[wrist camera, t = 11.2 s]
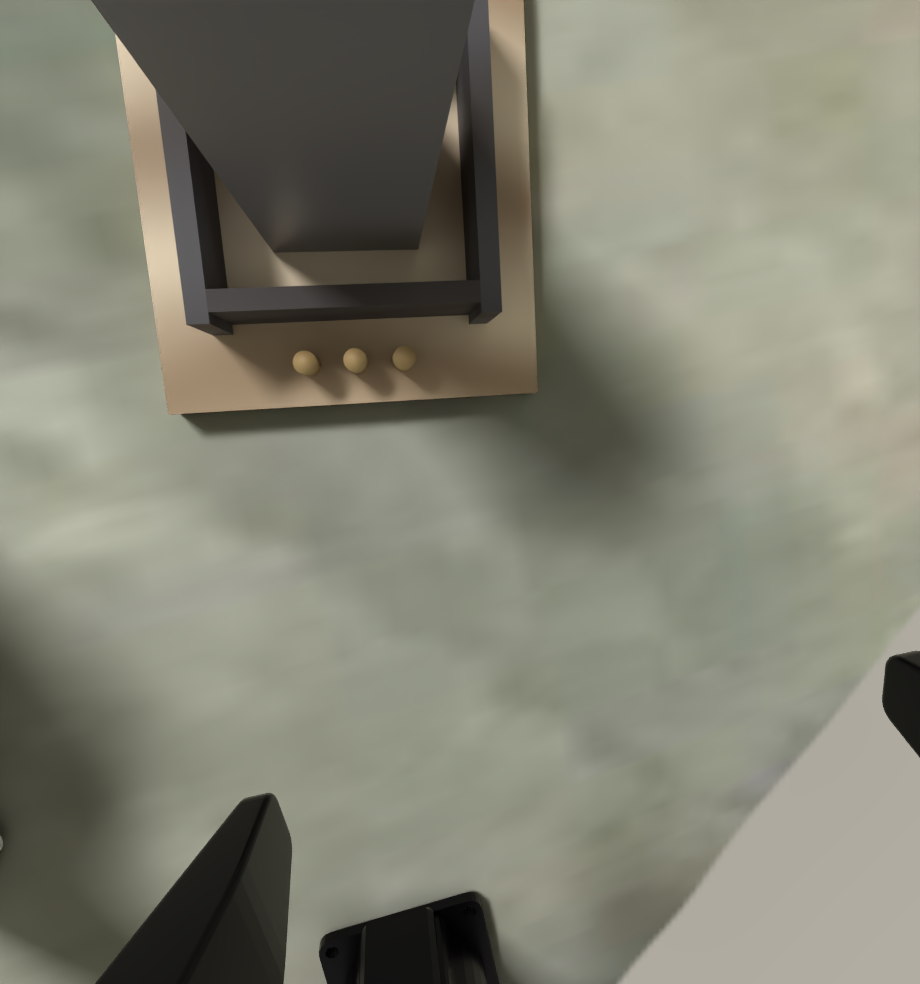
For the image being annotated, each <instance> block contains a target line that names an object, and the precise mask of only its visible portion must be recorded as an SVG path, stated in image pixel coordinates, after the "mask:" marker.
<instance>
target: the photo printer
mask: <svg viewBox="0 0 920 984" xmlns="http://www.w3.org/2000/svg"><path fill="white" fill-rule="evenodd" d="M2 847H3V840H2V837H1V836H0V850H1V849H2Z"/></svg>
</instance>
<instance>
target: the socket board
mask: <svg viewBox="0 0 920 984" xmlns="http://www.w3.org/2000/svg"><path fill="white" fill-rule="evenodd" d="M115 35H116V34H115ZM116 42H117V49H118V56H119V63H120V71H121V78H122V85H123V92H124V99H125V106H126V114H127V121H128V128H129V135H130V142H131V150H132V157H133V164H134V171H135V178H136V185H137V193H138V200H139V207H140V214H141V221H142V229H143V236H144V243H145V250H146V257H147V264H148V272H149V279H150V286H151V293H152V300H153V308H154V315H155V322H156V329H157V336H158V343H159V351H160V358H161V365H162V372H163V379H164V387H165V394H166V401H167V408H168V414H187V413H204V412H221V411H238V410H255V409H272V408H289V407H305V406H322V405H339V404H356V403H373V402H390V401H407V400H424V399H441V398H457V397H474V396H491V395H508V394H525V393H538V382H537V355H536V328H535V300H534V273H533V246H532V219H531V191H530V164H529V137H528V110H527V82H526V55H525V28H524V1H523V0H475V1H474V5H473V10H472V14H471V19H470V23H469V27H468V32H467V36H466V41H465V45H464V50H463V54H462V58H461V63H460V67H459V72H458V76H457V80H456V85H455V89H454V94H453V98H452V102H451V107H450V111H449V116H448V120H447V124H446V129H445V133H444V138H443V142H442V146H441V151H440V155H439V160H438V164H437V168H436V173H435V177H434V182H433V186H432V190H431V195H430V199H429V204H428V208H427V212H426V217H425V221H424V226H423V230H422V234H421V239H420V243H419V248H418V249H416V250H371V251H325V252H279V253H273V251H272V250H271V249H270V247H269V246H268V244H267V243H266V242H265V240H264V239H263V238H262V236H261V235H260V233H259V232H258V231H257V229H256V228H255V226H254V225H253V224H252V222H251V221H250V219H249V218H248V217H247V215H246V214H245V213H244V211H243V210H242V208H241V207H240V206H239V204H238V203H237V201H236V200H235V199H234V197H233V196H232V195H231V193H230V192H229V190H228V189H227V188H226V186H225V185H224V183H223V182H222V181H221V179H220V178H219V177H218V175H217V174H216V172H215V171H214V170H213V168H212V167H211V165H210V164H209V163H208V161H207V160H206V159H205V157H204V156H203V154H202V153H201V152H200V150H199V149H198V147H197V146H196V145H195V143H194V142H193V140H192V139H191V138H190V136H189V135H188V134H187V132H186V131H185V129H184V128H183V127H182V125H181V124H180V122H179V121H178V120H177V118H176V117H175V116H174V114H173V113H172V111H171V110H170V109H169V107H168V106H167V104H166V103H165V102H164V100H163V99H162V98H161V96H160V95H159V93H158V92H157V91H156V89H155V88H154V86H153V85H152V84H151V82H150V81H149V80H148V78H147V77H146V75H145V74H144V73H143V71H142V70H141V68H140V67H139V66H138V64H137V63H136V61H135V60H134V59H133V57H132V56H131V55H130V53H129V52H128V50H127V49H126V48H125V46H124V45H123V43H122V42H121V41H120V39H119V38H118V37H117V35H116Z"/></svg>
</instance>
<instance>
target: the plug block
mask: <svg viewBox="0 0 920 984" xmlns="http://www.w3.org/2000/svg"><path fill="white" fill-rule="evenodd" d="M91 1H92V2H93V3H94V5H95V6H96V7H97V9H98V10H99V12H100V13H101V14H102V16H103V17H104V19H105V20H106V21H107V23H108V24H109V25H110V27H111V28H112V30H113V31H114V32H115V34H116V35H117V37H118V38H119V39H120V41H121V42H122V43H123V45H124V46H125V48H126V49H127V50H128V52H129V53H130V55H131V56H132V57H133V59H134V60H135V61H136V63H137V64H138V66H139V67H140V68H141V70H142V71H143V73H144V74H145V75H146V77H147V78H148V80H149V81H150V82H151V84H152V85H153V86H154V88H155V89H156V91H157V92H158V93H159V95H160V96H161V98H162V99H163V100H164V102H165V103H166V104H167V106H168V107H169V109H170V110H171V111H172V113H173V114H174V116H175V117H176V118H177V120H178V121H179V122H180V124H181V125H182V127H183V128H184V129H185V131H186V132H187V134H188V135H189V136H190V138H191V139H192V140H193V142H194V143H195V145H196V146H197V147H198V149H199V150H200V152H201V153H202V154H203V156H204V157H205V159H206V160H207V161H208V163H209V164H210V165H211V167H212V168H213V170H214V171H215V172H216V174H217V175H218V177H219V178H220V179H221V181H222V182H223V183H224V185H225V186H226V188H227V189H228V190H229V192H230V193H231V195H232V196H233V197H234V199H235V200H236V201H237V203H238V204H239V206H240V207H241V208H242V210H243V211H244V213H245V214H246V215H247V217H248V218H249V219H250V221H251V222H252V224H253V225H254V226H255V228H256V229H257V231H258V232H259V233H260V235H261V236H262V238H263V239H264V240H265V242H266V243H267V244H268V246H269V247H270V249H271V250H272V251H273V253H279V252H325V251H371V250H416V249H418V248H419V243H420V239H421V234H422V230H423V226H424V221H425V217H426V212H427V208H428V204H429V199H430V195H431V190H432V186H433V182H434V177H435V173H436V168H437V164H438V160H439V155H440V151H441V146H442V142H443V138H444V133H445V129H446V124H447V120H448V116H449V111H450V107H451V102H452V98H453V94H454V89H455V85H456V80H457V76H458V72H459V67H460V63H461V58H462V54H463V50H464V45H465V41H466V36H467V32H468V27H469V23H470V19H471V14H472V10H473V5H474V1H475V0H91Z"/></svg>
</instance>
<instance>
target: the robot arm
mask: <svg viewBox="0 0 920 984" xmlns="http://www.w3.org/2000/svg"><path fill="white" fill-rule="evenodd" d="M882 703H883V707H884V710H885V713H886V715H887V716H888V718H889V719H890V721H891V722H892V723H893V725H894V726H895V727H896V728H897V730H898V731H899V732H900V733H901V735H902V736H903V737H904V738H905V740H906V741H907V742H908V743H909V745H910V746H911V747H912V748H913V750H914V751H915V752H916V753H917V754H918V756H919V757H920V651H912V652H908V653H903V654H899V655H894V656H892V657H890V658H889V659H888V660H887V662H886V666H885V677H884V686H883V695H882ZM291 861H292V843H291V837H290V833H289V830H288V827H287V825H286V822H285V819H284V817H283V814H282V811H281V808H280V806H279V803H278V800H277V798H276V797H275V795H274V794H272V793H265V794H261V795H256V796H252V797H247V798H245V799H243V800H242V801H241V802H240V803H239V804H238V805H237V806H236V807H235V809H234V810H233V811H232V813H231V814H230V815H229V816H228V818H227V819H226V820H225V821H224V823H223V824H222V825H221V826H220V828H219V829H218V830H217V831H216V833H215V834H214V835H213V836H212V838H211V839H210V840H209V841H208V843H207V844H206V845H205V846H204V848H203V849H202V850H201V851H200V853H199V854H198V855H197V856H196V858H195V859H194V860H193V861H192V863H191V864H190V865H189V866H188V868H187V869H186V870H185V871H184V873H183V874H182V875H181V877H180V878H179V879H178V880H177V882H176V883H175V884H174V885H173V887H172V888H171V889H170V890H169V892H168V893H167V894H166V895H165V897H164V898H163V899H162V900H161V902H160V903H159V904H158V905H157V907H156V908H155V909H154V910H153V912H152V913H151V914H150V915H149V917H148V918H147V919H146V920H145V922H144V923H143V924H142V925H141V927H140V928H139V929H138V930H137V932H136V933H135V934H134V935H133V937H132V938H131V939H130V941H129V942H128V943H127V944H126V946H125V947H124V948H123V949H122V951H121V952H120V953H119V954H118V956H117V957H116V958H115V959H114V961H113V962H112V963H111V964H110V966H109V967H108V968H107V969H106V971H105V972H104V973H103V974H102V976H101V977H100V978H99V979H98V981H97V982H96V983H95V984H283V981H284V970H285V958H286V942H287V925H288V909H289V893H290V877H291ZM468 906H472V908H470V909H465V908H467V907H468ZM330 947H335V949H330ZM319 957H320V961H321V964H322V968H323V971H324V974H325V978H326V981H327V984H499V981H498V976H497V972H496V968H495V963H494V959H493V954H492V950H491V945H490V941H489V937H488V932H487V928H486V923H485V919H484V914H483V910H482V906H481V901H480V898H479V896H478V895H476V894H475V893H471V892H469V893H464V894H460V895H457V896H453V897H450V898H447V899H443V900H440V901H436V902H433V903H430V904H426V905H423V906H419V907H416V908H412V909H409V910H406V911H402V912H399V913H395V914H392V915H389V916H385V917H382V918H378V919H375V920H371V921H368V922H365V923H361V924H358V925H354V926H351V927H348V928H344V929H341V930H337V931H334V932H330V933H328V934H326V935H325V936H324V937H323V938H322V939H321V942H320V949H319Z"/></svg>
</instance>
